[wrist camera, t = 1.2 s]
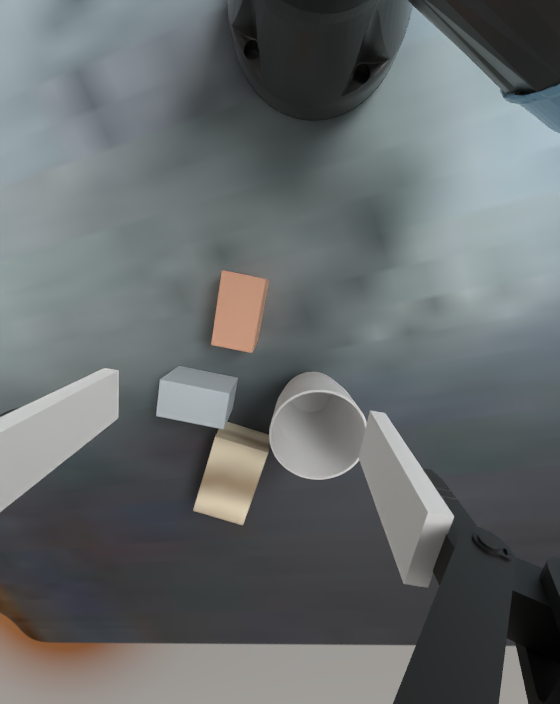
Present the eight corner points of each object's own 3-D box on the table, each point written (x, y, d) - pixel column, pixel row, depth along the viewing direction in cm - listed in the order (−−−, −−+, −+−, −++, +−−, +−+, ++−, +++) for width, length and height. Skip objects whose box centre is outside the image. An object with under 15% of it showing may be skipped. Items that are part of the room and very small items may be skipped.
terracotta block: (232, 272, 31) (221, 270, 26) (269, 279, 31) (265, 278, 26) (222, 335, 32) (211, 344, 27) (257, 342, 32) (252, 353, 28)
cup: (282, 429, 35) (279, 485, 25) (268, 365, 33) (259, 399, 23) (349, 418, 34) (374, 471, 24) (339, 352, 32) (361, 381, 22)
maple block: (223, 419, 35) (215, 436, 31) (270, 434, 35) (268, 452, 31) (203, 486, 37) (193, 510, 33) (247, 500, 37) (242, 525, 34)
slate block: (175, 397, 34) (156, 415, 29) (178, 365, 33) (159, 379, 28) (232, 408, 34) (223, 429, 29) (238, 377, 33) (229, 393, 29)
